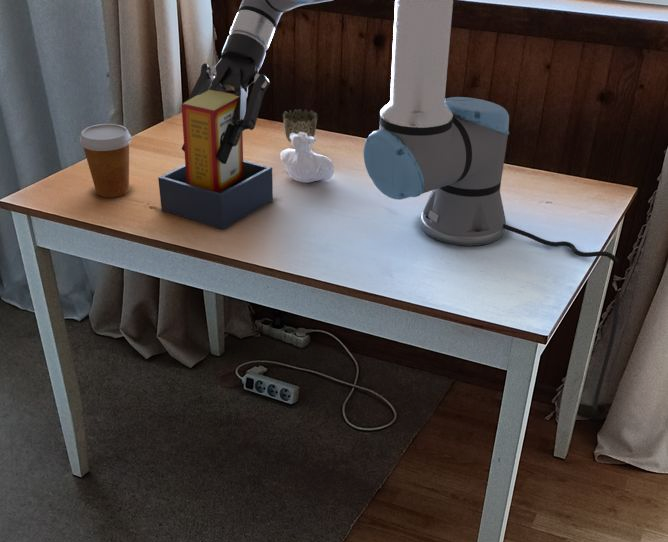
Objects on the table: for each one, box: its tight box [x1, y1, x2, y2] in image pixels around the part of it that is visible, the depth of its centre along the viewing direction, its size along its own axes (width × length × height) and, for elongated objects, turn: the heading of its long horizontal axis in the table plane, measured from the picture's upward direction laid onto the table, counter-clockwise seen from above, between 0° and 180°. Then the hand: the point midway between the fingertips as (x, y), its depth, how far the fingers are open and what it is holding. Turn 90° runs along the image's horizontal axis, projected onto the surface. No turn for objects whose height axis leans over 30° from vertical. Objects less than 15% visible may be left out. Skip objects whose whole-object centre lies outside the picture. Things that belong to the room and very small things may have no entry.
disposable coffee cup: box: [79, 123, 132, 198], centre depth 164 cm, size 10×10×12 cm
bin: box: [157, 159, 274, 230], centre depth 161 cm, size 15×16×7 cm
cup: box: [282, 108, 318, 149], centre depth 184 cm, size 8×7×8 cm
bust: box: [279, 132, 335, 184], centre depth 170 cm, size 12×8×11 cm
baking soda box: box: [181, 90, 244, 193], centre depth 155 cm, size 10×6×16 cm
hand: (203, 156), depth 154 cm, fingers closed on baking soda box, 7 cm apart
